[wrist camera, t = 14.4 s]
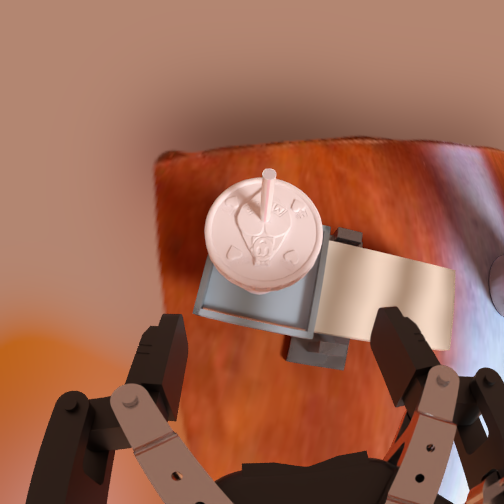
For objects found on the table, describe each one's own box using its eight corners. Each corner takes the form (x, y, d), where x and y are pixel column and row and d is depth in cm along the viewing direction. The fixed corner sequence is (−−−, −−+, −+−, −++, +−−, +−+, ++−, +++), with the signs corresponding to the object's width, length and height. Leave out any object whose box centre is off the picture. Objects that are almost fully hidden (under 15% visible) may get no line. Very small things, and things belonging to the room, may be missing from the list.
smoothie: (298, 238, 26) (341, 132, 13) (296, 313, 24) (352, 270, 11) (224, 234, 26) (199, 123, 13) (217, 308, 24) (176, 260, 11)
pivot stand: (360, 244, 33) (380, 224, 27) (341, 369, 29) (361, 374, 23) (310, 233, 33) (321, 210, 27) (285, 360, 29) (294, 364, 23)
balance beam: (447, 267, 27) (461, 260, 24) (440, 357, 24) (455, 357, 21) (222, 216, 28) (219, 203, 26) (195, 315, 26) (189, 312, 23)
